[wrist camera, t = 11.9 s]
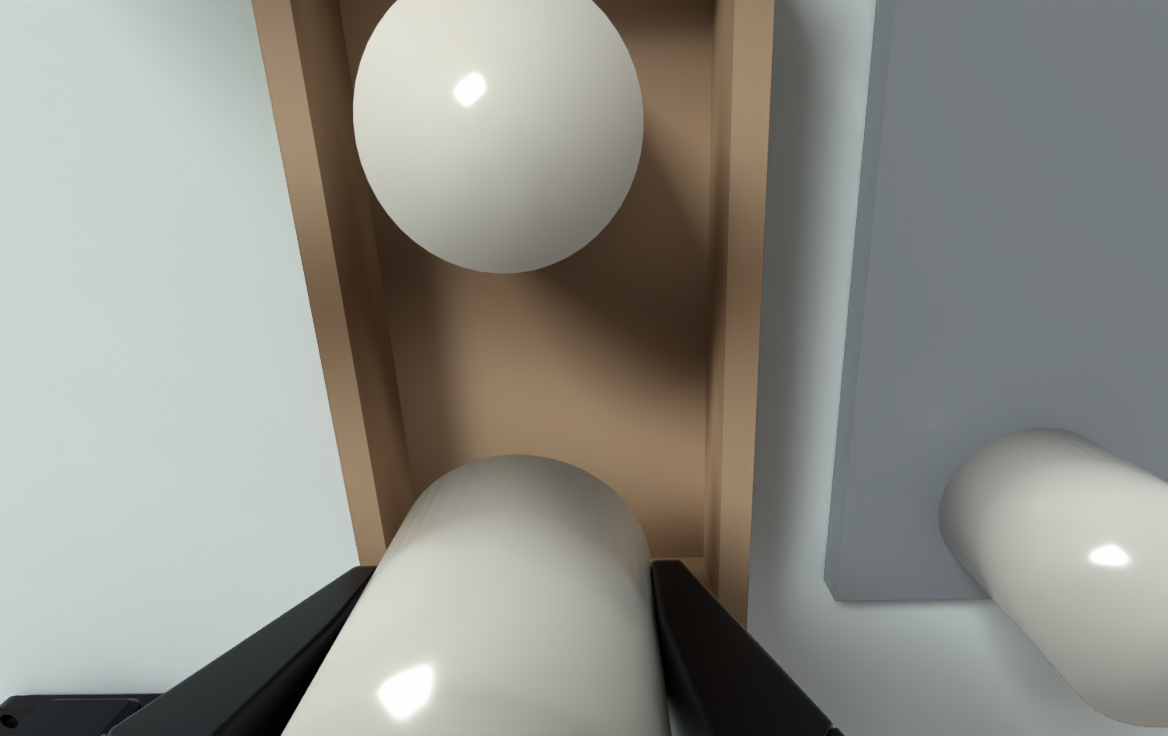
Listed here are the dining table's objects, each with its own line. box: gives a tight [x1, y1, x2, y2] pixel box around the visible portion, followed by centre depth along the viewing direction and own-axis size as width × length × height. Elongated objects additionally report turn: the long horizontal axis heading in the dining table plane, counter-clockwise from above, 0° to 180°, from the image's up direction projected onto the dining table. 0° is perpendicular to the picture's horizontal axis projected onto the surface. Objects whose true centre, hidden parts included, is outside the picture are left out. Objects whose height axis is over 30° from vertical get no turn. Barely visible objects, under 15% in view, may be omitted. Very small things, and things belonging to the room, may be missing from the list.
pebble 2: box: [281, 454, 672, 736], centre depth 7 cm, size 4×4×4 cm
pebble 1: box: [353, 0, 644, 274], centre depth 10 cm, size 4×4×4 cm
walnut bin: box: [252, 0, 775, 629], centre depth 12 cm, size 14×8×2 cm, turn 3°
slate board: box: [824, 0, 1168, 601], centre depth 12 cm, size 15×8×1 cm, turn 3°
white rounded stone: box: [939, 428, 1168, 727], centre depth 12 cm, size 4×4×4 cm
